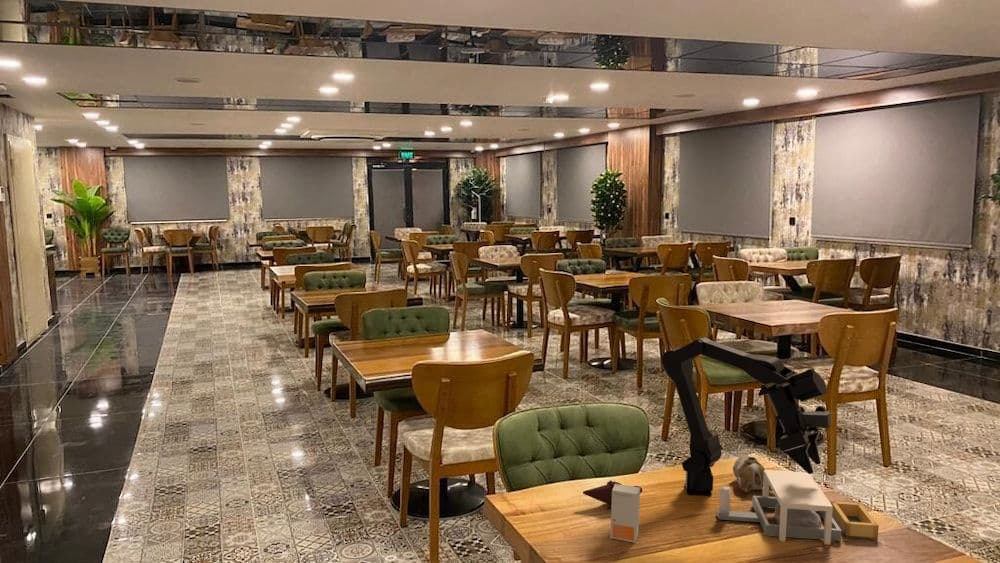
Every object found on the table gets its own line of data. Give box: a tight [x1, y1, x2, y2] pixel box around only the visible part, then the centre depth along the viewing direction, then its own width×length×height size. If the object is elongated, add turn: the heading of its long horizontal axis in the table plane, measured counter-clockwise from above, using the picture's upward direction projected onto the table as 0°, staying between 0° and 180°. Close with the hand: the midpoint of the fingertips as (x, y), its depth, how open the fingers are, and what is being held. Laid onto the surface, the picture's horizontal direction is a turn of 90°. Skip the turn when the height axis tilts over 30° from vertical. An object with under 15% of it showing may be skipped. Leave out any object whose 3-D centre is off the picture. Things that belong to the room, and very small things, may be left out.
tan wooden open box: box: [830, 501, 880, 541], centre depth 171 cm, size 7×12×4 cm, turn 171°
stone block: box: [774, 504, 822, 528], centre depth 173 cm, size 12×5×10 cm
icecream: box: [582, 480, 643, 510], centre depth 182 cm, size 7×8×15 cm
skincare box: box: [610, 483, 641, 544], centre depth 165 cm, size 6×4×12 cm
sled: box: [716, 486, 843, 542], centre depth 173 cm, size 26×17×7 cm, turn 81°
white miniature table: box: [762, 469, 833, 546], centre depth 173 cm, size 11×20×9 cm, turn 171°
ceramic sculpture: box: [732, 451, 773, 493], centre depth 194 cm, size 11×9×15 cm
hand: (814, 468), depth 171 cm, fingers open, 9 cm apart
